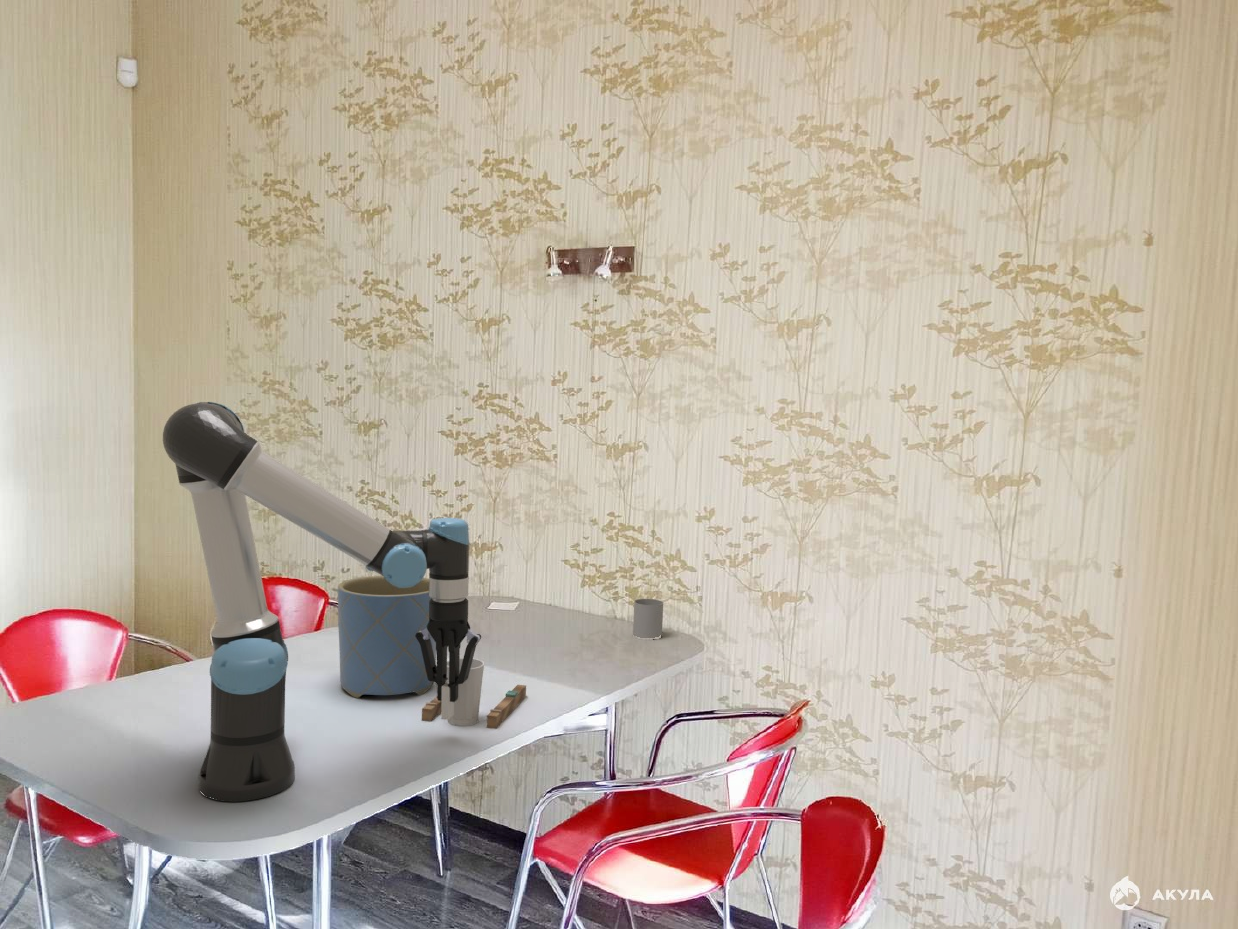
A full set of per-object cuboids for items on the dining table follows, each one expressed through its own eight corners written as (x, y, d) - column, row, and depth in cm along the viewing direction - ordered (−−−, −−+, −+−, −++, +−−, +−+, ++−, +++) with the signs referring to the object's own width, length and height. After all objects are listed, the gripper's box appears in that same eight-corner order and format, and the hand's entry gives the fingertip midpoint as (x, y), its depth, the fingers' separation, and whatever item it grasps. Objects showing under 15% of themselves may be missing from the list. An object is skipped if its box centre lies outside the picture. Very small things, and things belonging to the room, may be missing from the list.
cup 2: (629, 638, 260) (630, 603, 259) (637, 631, 268) (638, 597, 267) (658, 641, 257) (659, 606, 257) (665, 634, 265) (666, 600, 265)
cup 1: (474, 729, 185) (476, 670, 184) (437, 725, 186) (438, 667, 185) (487, 716, 192) (489, 660, 192) (452, 712, 194) (453, 656, 193)
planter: (334, 705, 195) (336, 596, 194) (337, 673, 217) (339, 575, 216) (442, 699, 202) (445, 594, 200) (434, 669, 223) (437, 574, 222)
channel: (496, 728, 185) (496, 713, 185) (421, 720, 188) (421, 705, 188) (526, 696, 206) (526, 682, 206) (458, 689, 209) (458, 676, 209)
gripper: (487, 596, 180) (485, 713, 182) (424, 592, 182) (423, 707, 184) (474, 604, 173) (472, 726, 174) (409, 600, 175) (408, 720, 177)
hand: (447, 716), depth 179 cm, fingers closed
